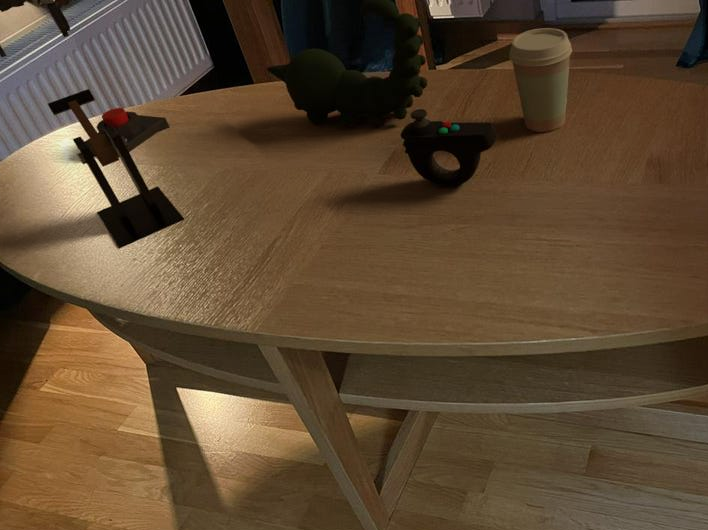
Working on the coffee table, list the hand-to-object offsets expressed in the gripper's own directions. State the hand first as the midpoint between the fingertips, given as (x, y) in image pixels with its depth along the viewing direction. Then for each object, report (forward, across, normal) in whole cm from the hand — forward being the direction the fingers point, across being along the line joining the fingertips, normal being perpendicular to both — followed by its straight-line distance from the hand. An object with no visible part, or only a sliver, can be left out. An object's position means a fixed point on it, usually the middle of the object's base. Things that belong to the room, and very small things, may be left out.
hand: (34, 43), depth 97 cm
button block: (+9, +5, +18) cm, 21 cm away
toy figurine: (+27, +36, +1) cm, 45 cm away
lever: (+17, 0, -5) cm, 18 cm away
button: (+7, +5, +16) cm, 18 cm away
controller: (+47, +36, -19) cm, 62 cm away
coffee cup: (+44, +55, -16) cm, 72 cm away
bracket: (+29, 0, -1) cm, 29 cm away
